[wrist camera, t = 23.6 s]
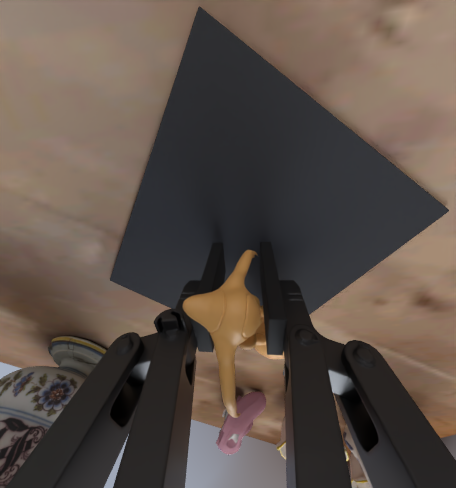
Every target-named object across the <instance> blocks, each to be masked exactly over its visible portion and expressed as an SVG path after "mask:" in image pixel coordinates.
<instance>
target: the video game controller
mask: <svg viewBox="0 0 456 488" xmlns="http://www.w3.org/2000/svg"><path fill="white" fill-rule="evenodd" d="M236 403H237V413H238V414H239V413H241V414H240V416H239V417H238V418H234V417H232V416H231V415H230V414H228V412H227V410H226V409H225V410H224V412H223V417H224V415H225V421H224V424H223V426H222V428H221V430H220V432H219V437H218V440H217V442H216V444H217V445H218V448H219V449H220V450H221V451H222V452H223V453H225V454H228V455H229V454H234V453H236V452H237V451H238V450H239V448H240V446H241V441H242V437H243V436H245V435H246V434H247V433H248V432H249V431H250V429H251V428H252V425H253V420H254V419H255V418H256V417H257V416H258V415H260V414H261V413H262V411H263V410H264V408H265V406H266V398H265V395H264V394H263V393H261V392H251V393H249V394H247V395H245V396H244V397H241V396H238V398H237V400H236Z"/></svg>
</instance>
